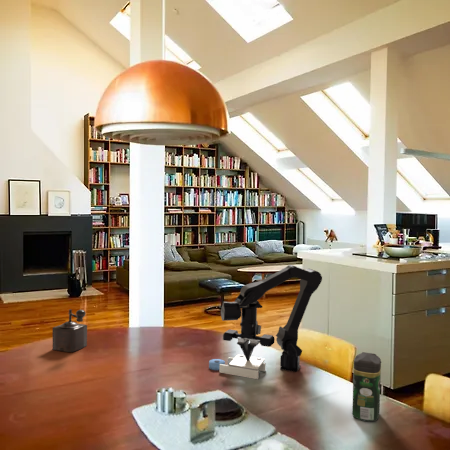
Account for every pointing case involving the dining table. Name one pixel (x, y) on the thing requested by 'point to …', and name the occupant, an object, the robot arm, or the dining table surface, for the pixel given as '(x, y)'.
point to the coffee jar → (366, 386)
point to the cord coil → (215, 363)
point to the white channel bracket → (241, 370)
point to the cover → (247, 362)
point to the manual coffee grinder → (70, 334)
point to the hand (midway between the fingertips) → (248, 360)
